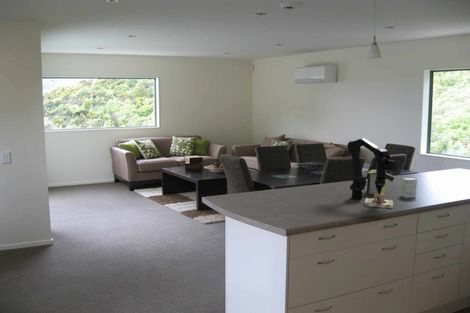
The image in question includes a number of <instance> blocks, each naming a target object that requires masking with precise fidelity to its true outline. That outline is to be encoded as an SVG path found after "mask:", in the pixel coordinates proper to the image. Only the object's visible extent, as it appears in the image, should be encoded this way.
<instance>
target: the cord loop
mask: <svg viewBox="0 0 470 313" xmlns="http://www.w3.org/2000/svg"><path fill="white" fill-rule="evenodd" d="M385 196H386V194H385V193H383V194H378V193H374V194H373V199H374V202H375V203H376V199H377V197H382V203H384V200H385V198H386V197H385Z"/></svg>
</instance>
